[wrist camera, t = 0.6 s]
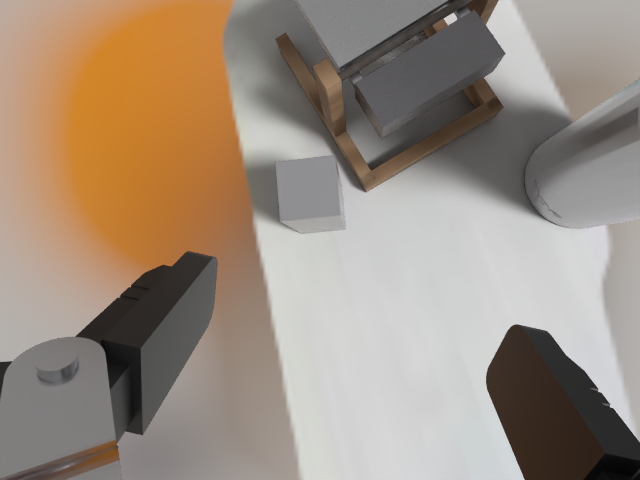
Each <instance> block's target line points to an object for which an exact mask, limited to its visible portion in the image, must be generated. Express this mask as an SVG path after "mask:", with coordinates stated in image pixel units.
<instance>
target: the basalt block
mask: <svg viewBox="0 0 640 480" xmlns="http://www.w3.org/2000/svg"><path fill="white" fill-rule="evenodd" d="M275 164H276V177H277V189H278V202H279V215H280V222H282V223H283V224H285V225H287V226H289V227H290V228H292V229H294V230H296V231H297V232H299V233H301V234H305V233H315V232H325V231H335V230H346V225H345V215H344V204H343V193H342V184H341V180H340V175H339V171H338V166H337V161H336V157H335V155H331V156H323V157H314V158H306V159H298V160H289V161H281V162H275Z"/></svg>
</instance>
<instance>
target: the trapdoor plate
mask: <svg viewBox="0 0 640 480" xmlns="http://www.w3.org/2000/svg"><path fill="white" fill-rule="evenodd" d="M454 1H456V0H294V2H295V4H296V5H297V7H298V8H299V10H300V12H301V13H302V15H303V16H304V18H305V20H306V21H307V23H308V24H309V26H310V27H311V29H312V31H313V32H314V34H315V35H316V37H317V39H318V40H319V42H320V43H321V45H322V47H323V48H324V50H325V51H326V53H327V55H328V56H329V58H330V59H331V61H332V63H333V64H334V66H335V67H336V69H337V71H338V72H341V71H343V70H344V69H346V68H347V67H349V66H351V65H352V64H354V63H356V62H357V61H359V60H360V59H362V58H364V57H365V56H367V55H368V54H370V53H372V52H373V51H375V50H377V49H378V48H380V47H381V46H383V45H385V44H386V43H388V42H390V41H391V40H393V39H394V38H396V37H398V36H399V35H401V34H402V33H404V32H406V31H407V30H409V29H411V28H412V27H414V26H415V25H417V24H419V23H420V22H422V21H424V20H425V19H427V18H428V17H430V16H432V15H433V14H435V13H436V12H438V11H440V10H441V9H443V8H445V7H446V6H448V5H449V4H451V3H453V2H454ZM454 14H455V15H456V17H457V18H458V20H457V21H455V22H453V23H452V24H450V25H449V26H447V27H445V28H444V29H442V30H440V31H439V32H437V33H436V34H434V35H432V36H431V37H429V38H427V39H426V40H424V41H422V42H421V43H419V44H418V45H416V46H414V47H413V48H411V49H409V50H408V51H406V52H405V53H403V54H401V55H400V56H398V57H396V58H395V59H393V60H392V61H390V62H388V63H387V64H385V65H383V66H382V67H380V68H378V69H377V70H375V71H374V72H372V73H370V74H369V75H367V76H365V77H364V78H362V76H361V74H360V73H359V71H357V72H356V73H354V74H352V75H351V76H349V77H348V78H349V80H350V81H351V83H352V84H353V86H354V88H355V97H356V99H357V101H358V103H359V104H360V106H361V107H362V109H363V111H364V112H365V114H366V115H367V117H368V119H369V120H370V122H371V123H372V125H373V127H374V128H375V130H376V131H377V133H378V135H379V136H380V138H381V139H382V138H383V137H385V136H387V135H388V134H390V133H392V132H393V131H395V130H397V129H398V128H400V127H402V126H403V125H405V124H407V123H408V122H410V121H412V120H413V119H415V118H417V117H418V116H420V115H422V114H423V113H425V112H427V111H428V110H430V109H432V108H433V107H435V106H437V105H438V104H440V103H442V102H443V101H445V100H447V99H448V98H450V97H452V96H453V95H455V94H457V93H458V92H460V91H462V90H463V89H465V88H467V87H468V86H470V85H472V84H473V83H475V82H477V81H478V80H480V79H482V78H483V77H485V76H487V75H488V74H490V73H492V72H493V71H494V69H495V68H496V67H497V65H498V64H499V62H500V61H501V59H502V58H503V56H504V55H505V52H504V51H503V49H502V48H501V47H500V45H499V44H498V42H497V41H496V39H495V38H494V37H493V35H492V34H491V32H490V31H489V29H488V28H487V27H486V25H485V24H484V22H483V21H482V19H481V18H480V17H479V15H478V14H477V12H476V11H475V10H473V11H471V12H470V10H469V9H468V7H467V6H466V5H464V6H463V7H461V8H460V9H458V10H456V11H455V12H454Z"/></svg>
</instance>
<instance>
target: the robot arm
mask: <svg viewBox="0 0 640 480" xmlns="http://www.w3.org/2000/svg"><path fill="white" fill-rule="evenodd" d="M525 188H526V192H527V195H528V197H529V199H530V201H531V203H532V205H533V206H534V207H535V209H536V210H537V211H538V212H539V213H540V214H541V215H542V216H544V217H545V218H546V219H547V220H549V221H551V222H553V223H555V224H557V225H560V226H564V227H567V228H578V229H581V228H589V227H595V226H601V225H607V224H614V223H620V222H626V221H632V220H638V219H640V78H639V79H638V80H636V81H634V82H633V83H631V84H630V85H629V86H627V87H626V88H624V89H623V90H621V91H620V92H618V93H617V94H616V95H614V96H612V97H611V98H609V99H608V100H606V101H605V102H603V103H602V104H600V105H599V106H597V107H596V108H594V109H593V110H591V111H590V112H588V113H587V114H585V115H584V116H582V117H581V118H579V119H578V120H577V121H575V122H573V123H572V124H570V125H569V126H567V127H566V128H564V129H563V130H561V131H560V132H558V133H557V134H555V135H554V136H552V137H551V138H549V139H548V140H546V141H545V142H544V143H542V144H541V145H540V146H539V147H538V148H537V149H536V150H535V151H534V153H533V154H532V156H531V157H530V159H529V161H528V164H527V166H526V171H525ZM216 276H217V259H216V257H212V256H208V255H203V254H199V253H194V252H190V251H188V252H186V253H185V254H184V255H183V256H182V257H181V258H180V259H179V260H178V261H177V262H176V263H175V264H174V265H173V266H172V267H170V266H166V265H162V266H159V267H157V268H155V269H152V270H150V271H148V272H146V273H144V274H143V275H142V276H141V277H140V278H138V279H137V280H136V281H135V282H134V283H133V284H132V285H131V288H130V287H129V288H128V289H127V290H126V291H124V292H123V293H122V294H121V296H120V298H117V299H116V300H115V301H113V302H112V303H111V304H110V305H109V306H108V307H107V308H106V309H105V310H104V311H103V312H102V313H100V314H99V315H98V316H97V317H96V318H95V319H94V320H93V321H92V322H91V323H90V324H89V325H87V326H86V327H85V328H84V329H83V330H82V331H81V332H80V333H79V334H78V335H77V336H76V337H65V338H58V339H54V340H50V341H46V342H43V343H41V344H38V345H36V346H34V347H32V348H30V349H28V350H26V351H25V352H23V353H22V354H21V355H19V356H18V357H17V358H16V359H15V360H14V361H11V362H0V480H122V474H121V466H120V458H119V451H118V446H117V445H116V444H117V443H118V441H119V440H120V438H121V437H122V435H123V434H124V432H125V431H126V432H131V433H135V434H140V435H143V434H144V432H145V431H146V429H147V427H148V425H149V424H150V422H151V421H152V419H153V417H154V416H155V414H156V412H157V411H158V409H159V407H160V406H161V404H162V402H163V400H164V399H165V397H166V396H167V394H168V392H169V390H170V389H171V387H172V385H173V384H174V382H175V381H176V379H177V377H178V376H179V374H180V372H181V370H182V369H183V367H184V365H185V364H186V362H187V360H188V359H189V357H190V355H191V354H192V352H193V350H194V349H195V347H196V345H197V344H198V342H199V340H200V339H201V337H202V335H203V334H204V332H205V330H206V329H207V327H208V325H209V322H210V320H211V317H212V313H213V309H214V300H215V289H216ZM486 384H487V390H488V392H489V395H490V397H491V400H492V402H493V405H494V407H495V409H496V412H497V414H498V417H499V419H500V421H501V424H502V426H503V429H504V431H505V433H506V436H507V438H508V441H509V443H510V445H511V448H512V450H513V453H514V455H515V457H516V460H517V462H518V465H519V467H520V469H521V472H522V474H523V477H524V479H525V480H640V442H639V441H638V440H637V438H636V437H635V436H634V435H633V433H632V432H631V431H630V429H629V428H628V427H627V426H626V424H625V423H624V422H623V420H622V419H621V418H620V416H619V415H618V414H617V413H616V411H615V410H614V409H613V408H610V404H609V402H608V401H607V400H606V398H605V397H604V396H603V394H602V393H600V392H598V388H597V387H596V385H595V384H594V383H593V382H592V380H591V379H590V378H589V376H588V375H587V374H586V372H585V371H584V370H583V369H581V368H580V367H579V366H578V365H577V364H576V363H574V362H573V361H572V360H571V359H570V358H569V357H567V356H566V355H565V353H564V352H563V351H562V349H561V348H560V347H559V345H558V344H557V343H556V341H555V340H554V339H553V337H552V336H551V335H550V334H549V333H548V332H547V331H545V330H540V329H536V328H531V327H527V326H522V325H517V324H516V325H513V326H512V327H510V329H509V330H508V331H507V333H506V335H505V337H504V339H503V341H502V343H501V345H500V346H499V348H498V350H497V352H496V354H495V356H494V358H493V360H492V362H491V363H490V365H489V367H488V370H487V376H486Z"/></svg>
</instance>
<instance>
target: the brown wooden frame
mask: <svg viewBox="0 0 640 480" xmlns="http://www.w3.org/2000/svg"><path fill="white" fill-rule="evenodd" d="M497 2H498V0H456V1H454V2H453V3H451V4H449V5H448V6H446V7H445V8H443V9H441V10H440V11H438V12H436V13H435V14H433V15H432V16H430V17H428V18H427V19H425V20H424V21H422V22H420V23H419V24H417V25H415V26H414V27H412V28H411V29H409V30H407V31H406V32H404V33H402V34H401V35H399V36H398V37H396V38H394V39H393V40H391V41H390V42H388V43H386V44H385V45H383V46H381V47H380V48H378V49H377V50H375V51H373V52H372V53H370V54H368V55H367V56H365V57H364V58H362V59H360V60H359V61H357V62H356V63H354V64H352V65H351V66H349V67H347V68H346V69H344V70H343V71H341V72H339V73H338V74H337V73H336V71H335V69H334V68H333V66H332V65H331V63H330V61H329V60H328V58H326V59H324V60H322V61H321V62H319V63H317V64H316V65H314V66H313V71H314V75H315V79H316V81H315V79H314V78H313V76H312V74H311V73H310V71H309V70H308V68H307V66H306V65H305V63H304V61H303V60H302V58H301V57H300V55H299V53H298V52H297V50H296V48H295V47H294V45H293V44H292V42H291V40H290V39H289V37H288V35H287V34H286V33H284V34H283V35H281V36H279V37H278V38H276V42H277V44H278V47H279V50H280V52H281V54H282V55H283V57H284V58H285V60H286V62H287V63H288V65H289V67H290V68H291V70H292V72H293V73H294V75H295V77H296V78H297V80H298V81H299V83H300V85H301V86H302V88H303V90H304V91H305V93H306V95H307V96H308V98H309V100H310V101H311V103H312V104H313V106H314V108H315V109H316V111H317V113H318V114H319V116H320V118H321V119H322V121H323V123H324V124H325V126H326V128H327V129H328V131H329V132H330V134H331V136H332V137H333V139H334V141H335V142H336V144H337V146H338V147H339V149H340V151H341V152H342V154H343V155H344V157H345V159H346V160H347V162H348V164H349V165H350V167H351V169H352V170H353V172H354V174H355V175H356V177H357V178H358V180H359V182H360V183H361V185H362V187H363V188H364V190H365V192H368V191H369V190H371V189H373V188H374V187H376V186H378V185H379V184H381V183H383V182H384V181H386V180H388V179H389V178H391V177H393V176H395V175H396V174H398V173H400V172H401V171H403V170H405V169H406V168H408V167H410V166H411V165H413V164H415V163H416V162H418V161H420V160H422V159H423V158H425V157H427V156H428V155H430V154H432V153H433V152H435V151H437V150H438V149H440V148H442V147H443V146H445V145H447V144H449V143H450V142H452V141H454V140H455V139H457V138H459V137H460V136H462V135H464V134H465V133H467V132H469V131H470V130H472V129H474V128H476V127H477V126H479V125H481V124H482V123H484V122H486V121H487V120H489V119H491V118H492V117H494V116H496V115H497V113H498V112H499V111H500V110H501V109H502V108H503V105H502V104H501V102H500V101H499V99H498V98H497V96H496V95H495V93H494V92H493V91H492V89H491V88H490V86H489V85H488V83H487V82H486V80H485V79H484V77H483V78H482V79H480V80H478V81H477V82H475V83H473V84H472V85H470V86H468V87H467V88H465V89H463V91H464V92H465V94H466V95H467V97H468V98H469V100H470V101H471V103H472V104H473V106H474V107H475V109H474V110H472V111H471V112H469V113H467V114H466V115H464V116H462V117H460V118H459V119H457V120H455V121H454V122H452V123H450V124H449V125H447V126H445V127H444V128H442V129H440V130H439V131H437V132H435V133H434V134H432V135H430V136H429V137H427V138H425V139H424V140H422V141H420V142H419V143H417V144H415V145H413V146H412V147H410V148H408V149H407V150H405V151H403V152H402V153H400V154H398V155H397V156H395V157H393V158H392V159H390V160H388V161H387V162H385V163H383V164H382V165H380V166H378V167H377V168H375V169H373V170H372V171H371V170H370V169H369V167H368V165H367V164H366V162H365V161H364V159H363V157H362V156H361V154H360V152H359V151H358V149H357V148H356V146H355V144H354V143H353V141H352V139H351V138H350V136H349V135H348V133H347V131H346V123H345V113H344V103H343V92H342V82H341V81H343V80H344V79H346V78H347V77H349V76H351V75H352V74H354V73H356V72H357V71H359V70H360V69H362V68H364V67H365V66H367V65H369V64H370V63H372V62H373V61H375V60H377V59H378V58H380V57H382V56H383V55H385V54H386V53H388V52H390V51H391V50H393V49H395V48H396V47H398V46H399V45H401V44H403V43H404V42H406V41H408V40H409V39H411V38H412V37H414V36H416V35H417V34H419V33H421V32H422V31H424V33H425V34H426V36H427V37H428V38H429V37H431V36H432V35H434V34H436V33H437V32H439V31H440V30H442V29H444V28H445V27H447V26H448V25H447V23H446V22H445V20H444V19H443V18H445V17H447V16H448V15H450V14H451V13H453V12H455V11H456V10H458V9H460V8H461V7H463V6H464V5H466V6H467V7H468V9H469V10H470V12H471V11H473V10H475V11H476V12H477V14H478V15H479V17H480V18H481V19H482V21H483V22H484V24H485V25H486V23H487V21H488V20H489V18H490V16H491V14H492V12H493V10H494V8H495V6H496V4H497ZM457 20H458V19H457Z"/></svg>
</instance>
